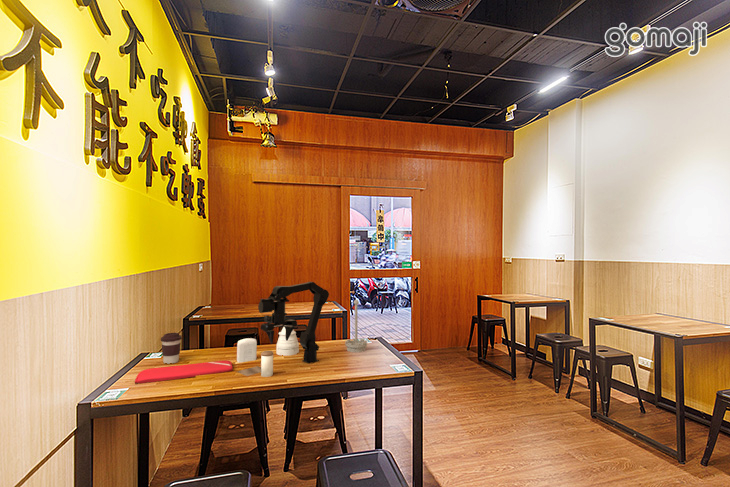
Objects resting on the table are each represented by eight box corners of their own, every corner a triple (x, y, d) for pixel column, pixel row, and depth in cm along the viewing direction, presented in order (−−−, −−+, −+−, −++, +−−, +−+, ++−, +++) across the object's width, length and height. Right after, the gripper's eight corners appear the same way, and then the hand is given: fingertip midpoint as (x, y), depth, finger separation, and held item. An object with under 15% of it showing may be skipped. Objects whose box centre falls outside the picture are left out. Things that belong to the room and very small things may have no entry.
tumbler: (266, 373, 179) (266, 350, 180) (275, 374, 177) (275, 351, 177) (258, 376, 174) (258, 353, 175) (267, 378, 172) (268, 354, 172)
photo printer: (255, 359, 205) (255, 336, 205) (257, 361, 201) (257, 338, 202) (235, 362, 199) (236, 339, 199) (238, 364, 196) (238, 340, 196)
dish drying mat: (140, 374, 180) (141, 367, 180) (231, 365, 195) (231, 358, 195) (134, 385, 165) (134, 377, 165) (232, 374, 181) (232, 366, 181)
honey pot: (274, 355, 212) (274, 323, 213) (279, 349, 225) (279, 319, 226) (296, 355, 213) (296, 323, 213) (300, 349, 225) (300, 319, 226)
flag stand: (371, 350, 223) (371, 300, 224) (351, 353, 216) (351, 301, 217) (360, 346, 234) (360, 298, 235) (341, 348, 227) (341, 299, 228)
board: (257, 367, 190) (257, 366, 190) (269, 371, 183) (269, 370, 183) (235, 373, 181) (235, 371, 181) (247, 377, 174) (247, 376, 174)
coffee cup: (156, 363, 197) (156, 334, 197) (172, 358, 206) (172, 331, 207) (169, 365, 193) (170, 336, 194) (185, 360, 202) (185, 332, 203)
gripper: (284, 307, 202) (284, 336, 202) (254, 311, 189) (254, 342, 188) (297, 309, 195) (297, 339, 195) (267, 313, 181) (267, 346, 181)
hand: (279, 342), depth 190 cm, fingers open, 9 cm apart
